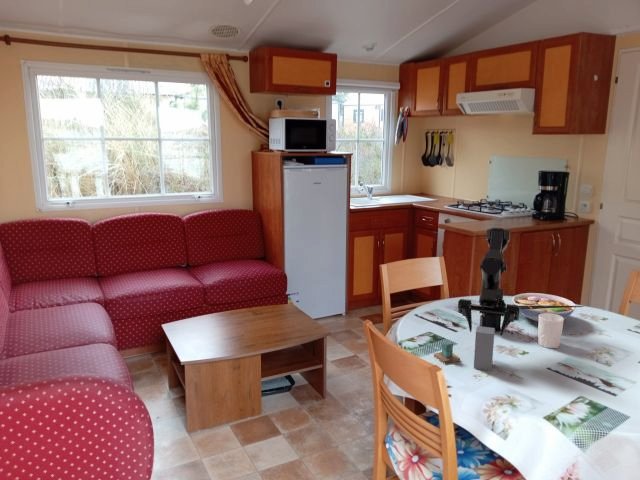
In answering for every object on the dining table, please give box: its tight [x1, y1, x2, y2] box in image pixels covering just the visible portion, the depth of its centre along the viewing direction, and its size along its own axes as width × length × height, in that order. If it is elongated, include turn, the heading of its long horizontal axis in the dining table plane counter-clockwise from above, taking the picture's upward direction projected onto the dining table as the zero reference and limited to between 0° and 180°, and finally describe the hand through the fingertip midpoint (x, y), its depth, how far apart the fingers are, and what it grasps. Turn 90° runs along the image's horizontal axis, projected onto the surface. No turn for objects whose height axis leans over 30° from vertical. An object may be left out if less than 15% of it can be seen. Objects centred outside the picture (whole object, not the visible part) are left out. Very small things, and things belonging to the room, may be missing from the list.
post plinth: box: [433, 340, 461, 364], centre depth 163 cm, size 6×6×6 cm
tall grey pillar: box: [473, 325, 496, 372], centre depth 158 cm, size 5×5×12 cm
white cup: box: [537, 313, 565, 349], centre depth 173 cm, size 8×8×10 cm
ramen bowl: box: [511, 292, 585, 323], centre depth 196 cm, size 25×23×8 cm
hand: (485, 333), depth 159 cm, fingers open, 9 cm apart
